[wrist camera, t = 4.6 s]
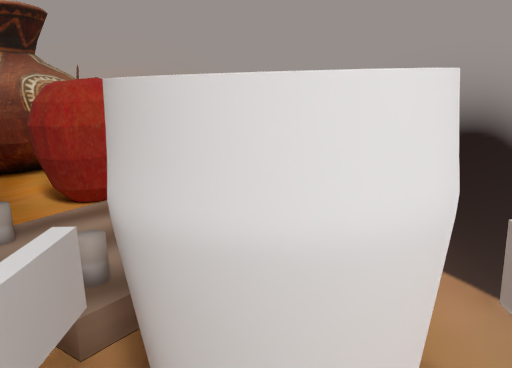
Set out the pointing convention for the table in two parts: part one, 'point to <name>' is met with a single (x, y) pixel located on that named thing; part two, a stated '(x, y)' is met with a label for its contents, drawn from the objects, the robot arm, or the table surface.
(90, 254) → the peg stand
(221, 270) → the cup
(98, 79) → the apple
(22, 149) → the jug
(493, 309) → the table surface
